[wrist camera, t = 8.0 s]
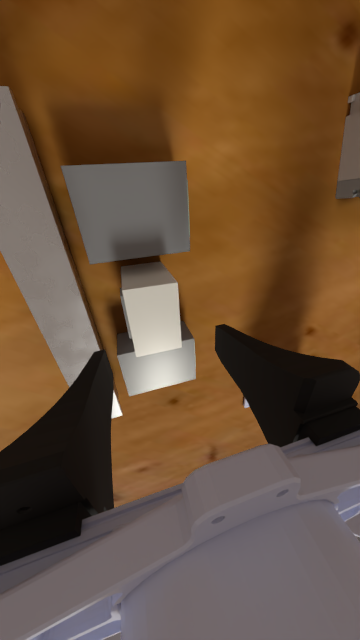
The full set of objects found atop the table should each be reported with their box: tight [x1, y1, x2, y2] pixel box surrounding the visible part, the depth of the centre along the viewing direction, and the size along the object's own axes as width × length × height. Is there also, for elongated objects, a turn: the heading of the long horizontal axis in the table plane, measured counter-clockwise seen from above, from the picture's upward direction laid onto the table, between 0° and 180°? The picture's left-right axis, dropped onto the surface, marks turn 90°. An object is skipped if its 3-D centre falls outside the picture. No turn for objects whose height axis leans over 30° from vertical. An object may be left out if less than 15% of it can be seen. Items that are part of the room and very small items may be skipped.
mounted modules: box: [61, 161, 196, 396], centre depth 20 cm, size 8×21×4 cm, turn 4°
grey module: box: [120, 262, 182, 357], centre depth 19 cm, size 4×6×7 cm
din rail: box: [0, 86, 122, 418], centre depth 19 cm, size 4×28×4 cm, turn 4°
